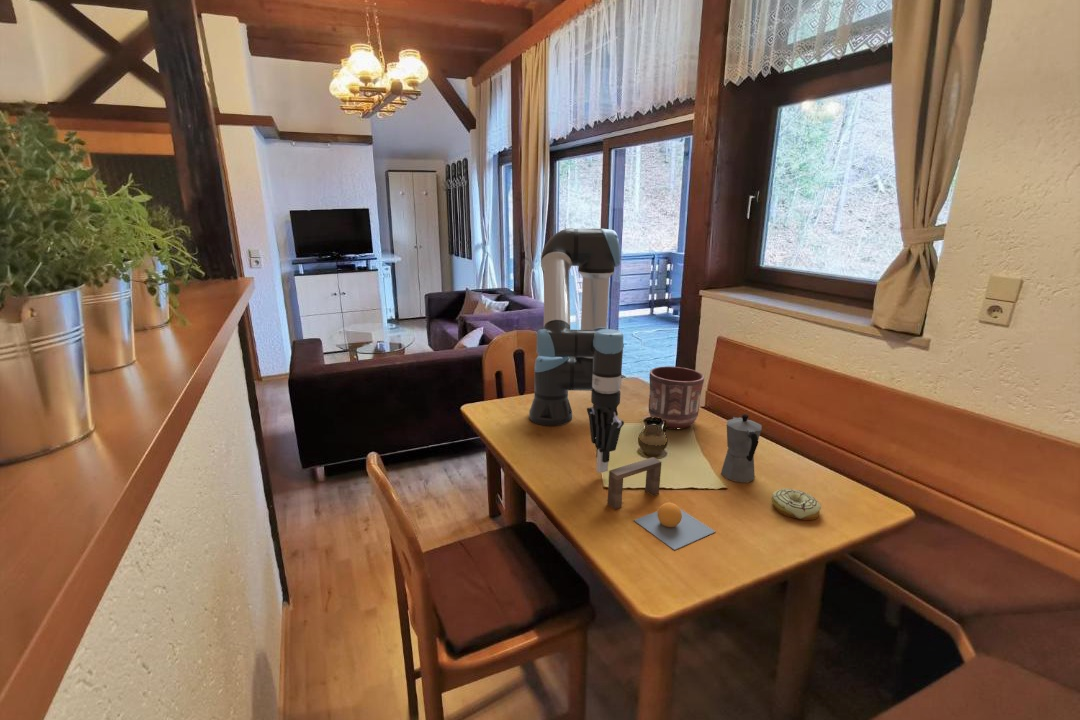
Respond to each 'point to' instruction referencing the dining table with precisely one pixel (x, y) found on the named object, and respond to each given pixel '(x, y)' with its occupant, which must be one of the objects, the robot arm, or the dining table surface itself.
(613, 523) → the dining table surface
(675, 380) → the pottery
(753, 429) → the coffeepot
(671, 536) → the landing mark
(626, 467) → the bridge
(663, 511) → the ball
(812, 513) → the decorated donut
